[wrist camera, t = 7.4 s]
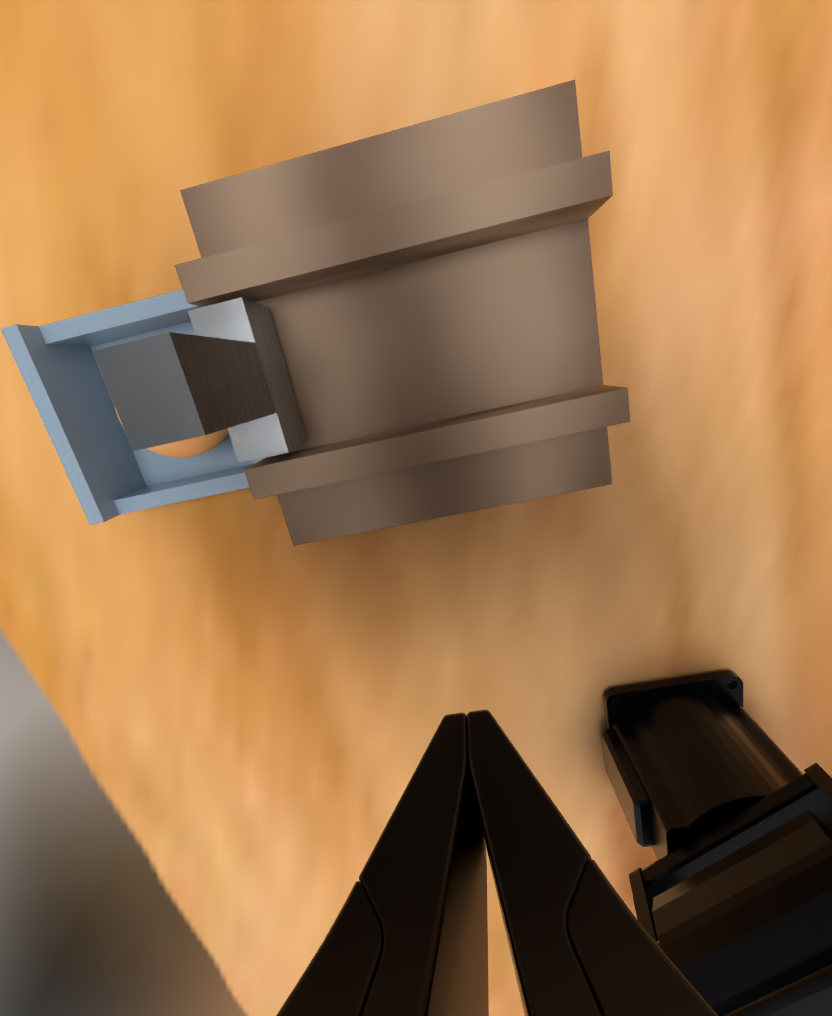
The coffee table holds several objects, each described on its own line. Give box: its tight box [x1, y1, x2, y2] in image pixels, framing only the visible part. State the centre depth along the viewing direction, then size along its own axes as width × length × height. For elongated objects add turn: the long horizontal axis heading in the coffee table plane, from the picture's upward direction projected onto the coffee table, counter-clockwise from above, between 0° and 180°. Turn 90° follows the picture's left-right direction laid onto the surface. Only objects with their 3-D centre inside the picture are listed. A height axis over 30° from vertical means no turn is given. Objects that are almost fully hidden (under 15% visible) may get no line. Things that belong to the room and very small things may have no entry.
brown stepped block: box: [175, 80, 630, 546], centre depth 16 cm, size 12×12×6 cm
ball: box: [115, 408, 229, 458], centre depth 17 cm, size 4×4×4 cm
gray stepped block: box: [93, 297, 308, 463], centre depth 12 cm, size 2×4×7 cm, turn 13°
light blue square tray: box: [1, 290, 264, 525], centre depth 18 cm, size 7×7×4 cm
